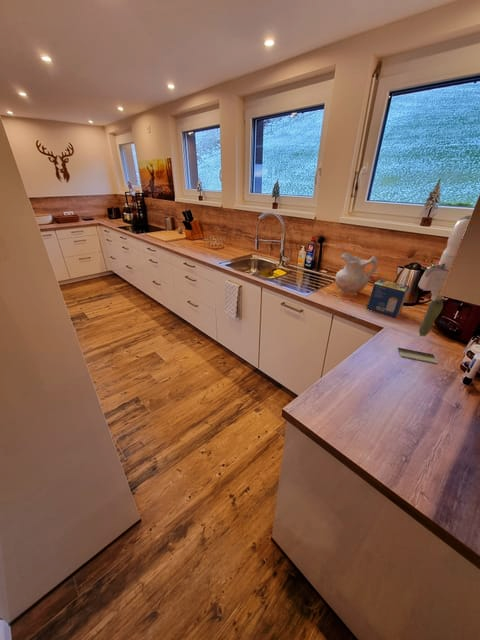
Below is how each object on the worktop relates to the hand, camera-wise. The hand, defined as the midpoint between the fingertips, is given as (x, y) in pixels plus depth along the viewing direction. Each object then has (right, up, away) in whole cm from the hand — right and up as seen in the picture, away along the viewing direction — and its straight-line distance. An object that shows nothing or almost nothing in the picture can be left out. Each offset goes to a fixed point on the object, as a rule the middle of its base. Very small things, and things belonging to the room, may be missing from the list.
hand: (438, 299), depth 99 cm
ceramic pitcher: (-4, +10, +70) cm, 71 cm away
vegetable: (-1, -14, +8) cm, 16 cm away
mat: (-1, -22, +12) cm, 25 cm away
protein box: (+5, -3, +47) cm, 48 cm away
